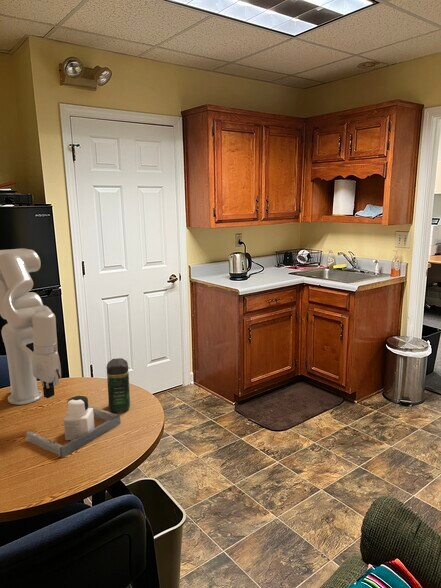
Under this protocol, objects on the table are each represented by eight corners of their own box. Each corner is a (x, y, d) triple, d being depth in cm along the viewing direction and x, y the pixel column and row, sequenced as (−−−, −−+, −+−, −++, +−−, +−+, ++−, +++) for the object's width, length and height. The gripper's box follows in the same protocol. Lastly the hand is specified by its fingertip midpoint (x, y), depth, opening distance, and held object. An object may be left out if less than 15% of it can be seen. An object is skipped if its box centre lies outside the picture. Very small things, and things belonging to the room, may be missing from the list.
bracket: (26, 440, 146) (25, 432, 146) (85, 410, 166) (84, 403, 166) (63, 457, 137) (62, 448, 136) (120, 423, 157) (120, 415, 156)
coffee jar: (130, 412, 165) (127, 364, 161) (108, 414, 163) (105, 366, 159) (130, 400, 174) (127, 355, 170) (109, 402, 172) (106, 357, 168)
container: (72, 428, 154) (69, 393, 151) (94, 428, 154) (92, 393, 151) (65, 440, 146) (61, 404, 143) (88, 440, 146) (85, 403, 143)
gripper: (22, 345, 152) (26, 394, 157) (50, 356, 145) (54, 407, 150) (41, 339, 159) (44, 386, 163) (69, 349, 151) (72, 398, 156)
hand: (49, 396), depth 156 cm, fingers closed
